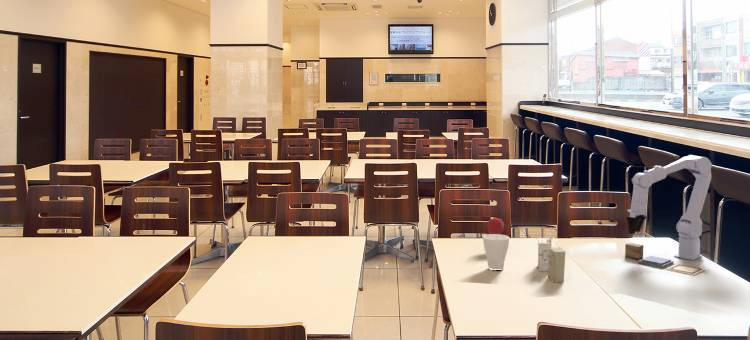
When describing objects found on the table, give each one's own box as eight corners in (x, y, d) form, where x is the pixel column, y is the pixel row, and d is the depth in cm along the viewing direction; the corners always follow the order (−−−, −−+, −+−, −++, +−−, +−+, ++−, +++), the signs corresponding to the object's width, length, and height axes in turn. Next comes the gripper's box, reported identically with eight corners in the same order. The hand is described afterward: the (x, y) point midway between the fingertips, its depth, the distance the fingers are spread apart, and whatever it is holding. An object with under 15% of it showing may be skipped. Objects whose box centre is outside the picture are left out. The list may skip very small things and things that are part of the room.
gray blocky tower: (537, 265, 257) (538, 231, 255) (549, 266, 256) (550, 231, 254) (538, 271, 249) (539, 235, 247) (551, 272, 248) (552, 236, 246)
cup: (510, 266, 256) (510, 234, 254) (507, 273, 246) (507, 240, 244) (484, 264, 259) (485, 233, 257) (480, 271, 249) (481, 238, 247)
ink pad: (649, 259, 265) (649, 255, 264) (673, 263, 257) (673, 259, 257) (638, 263, 258) (638, 259, 258) (662, 268, 251) (662, 264, 250)
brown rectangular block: (629, 256, 270) (630, 242, 270) (642, 258, 266) (643, 245, 265) (624, 257, 268) (625, 244, 267) (638, 260, 263) (639, 246, 262)
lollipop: (487, 252, 279) (487, 219, 277) (486, 247, 287) (487, 216, 285) (504, 252, 278) (504, 220, 276) (503, 248, 285) (504, 216, 283)
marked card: (677, 264, 256) (677, 263, 256) (705, 269, 248) (705, 268, 248) (665, 269, 249) (665, 268, 249) (694, 275, 241) (694, 274, 241)
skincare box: (547, 278, 240) (548, 247, 238) (558, 277, 240) (559, 247, 239) (553, 282, 233) (554, 251, 232) (564, 282, 234) (565, 251, 232)
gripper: (633, 198, 270) (629, 228, 271) (624, 200, 258) (619, 232, 260) (650, 201, 265) (646, 232, 267) (641, 203, 254) (637, 235, 255)
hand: (634, 232), depth 263 cm, fingers open, 7 cm apart
